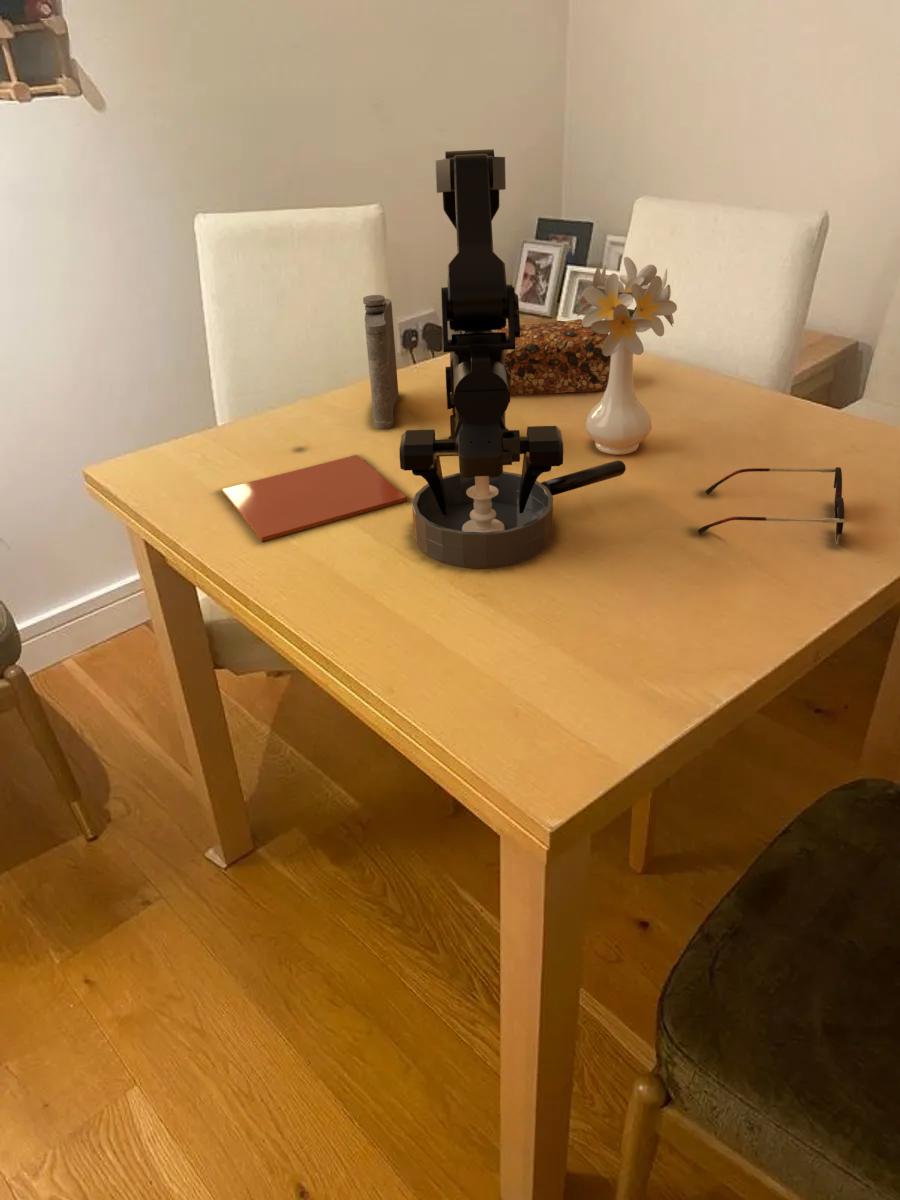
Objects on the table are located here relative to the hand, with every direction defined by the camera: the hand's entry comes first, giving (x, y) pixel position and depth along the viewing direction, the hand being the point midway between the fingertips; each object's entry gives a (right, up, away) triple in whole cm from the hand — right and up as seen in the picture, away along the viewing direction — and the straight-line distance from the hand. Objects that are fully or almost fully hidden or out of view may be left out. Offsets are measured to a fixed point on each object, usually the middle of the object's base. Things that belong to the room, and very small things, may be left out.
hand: (482, 512), depth 117 cm
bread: (+13, +25, +43) cm, 52 cm away
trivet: (-22, +3, +12) cm, 25 cm away
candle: (0, -2, +1) cm, 3 cm away
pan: (0, -2, +1) cm, 3 cm away
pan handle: (+13, +4, +6) cm, 15 cm away
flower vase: (+20, +11, +21) cm, 31 cm away
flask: (-14, +19, +36) cm, 44 cm away
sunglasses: (+35, -1, +1) cm, 35 cm away
